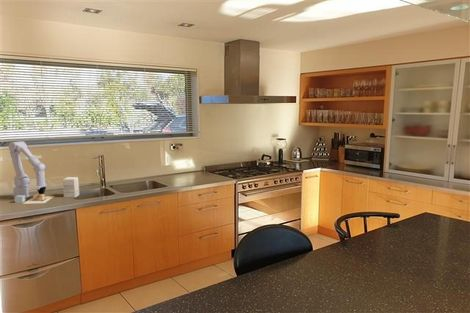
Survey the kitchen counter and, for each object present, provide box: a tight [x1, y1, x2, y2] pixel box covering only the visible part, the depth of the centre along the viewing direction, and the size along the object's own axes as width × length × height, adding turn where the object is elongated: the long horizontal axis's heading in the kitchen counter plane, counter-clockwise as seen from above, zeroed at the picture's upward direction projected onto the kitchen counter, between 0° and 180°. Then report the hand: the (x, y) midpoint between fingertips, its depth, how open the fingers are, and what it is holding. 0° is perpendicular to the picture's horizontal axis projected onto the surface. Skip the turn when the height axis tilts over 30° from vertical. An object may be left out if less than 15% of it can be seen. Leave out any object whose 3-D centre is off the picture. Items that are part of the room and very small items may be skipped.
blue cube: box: [14, 195, 26, 204], centre depth 247 cm, size 5×5×5 cm
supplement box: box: [62, 176, 80, 198], centre depth 265 cm, size 9×9×15 cm
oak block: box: [32, 193, 46, 201], centre depth 252 cm, size 6×5×4 cm
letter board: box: [22, 195, 55, 205], centre depth 254 cm, size 15×21×1 cm
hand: (41, 196), depth 257 cm, fingers closed
